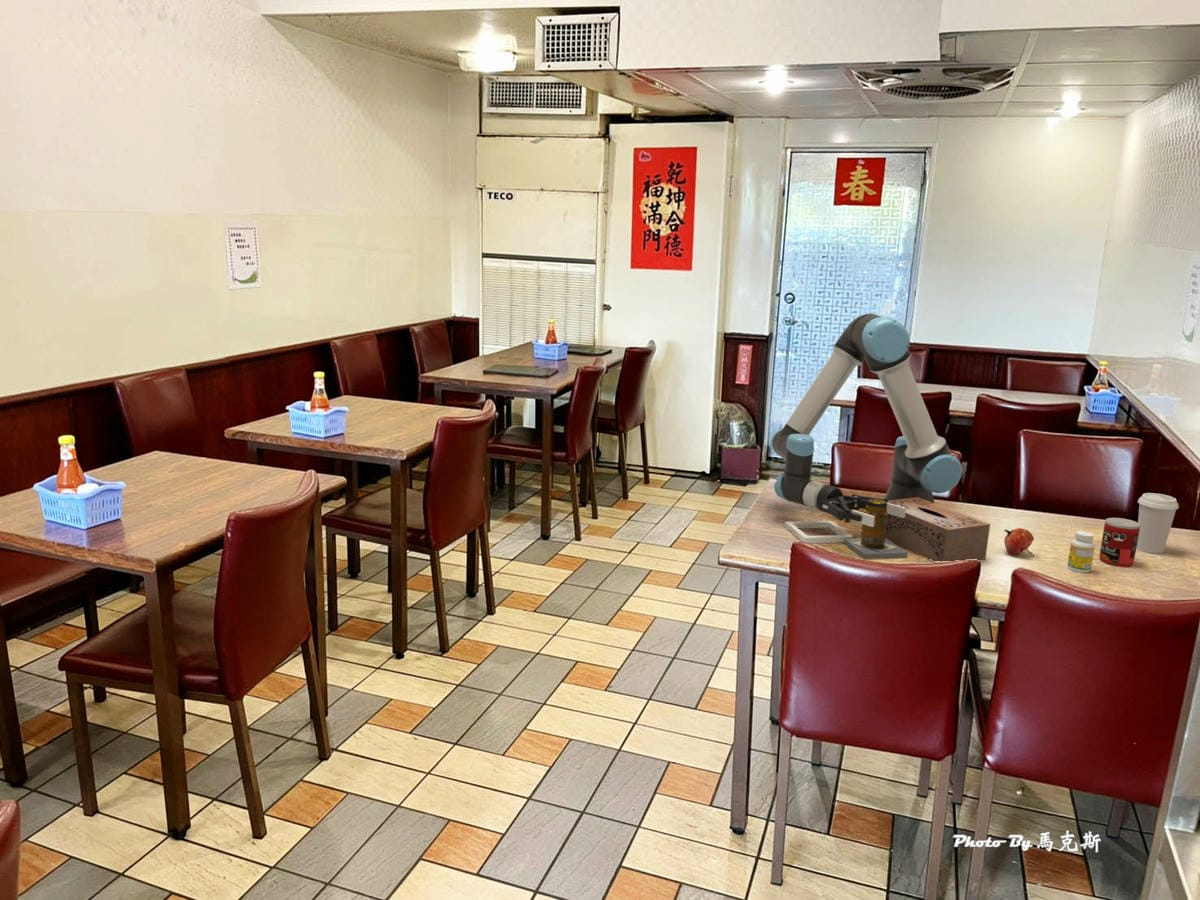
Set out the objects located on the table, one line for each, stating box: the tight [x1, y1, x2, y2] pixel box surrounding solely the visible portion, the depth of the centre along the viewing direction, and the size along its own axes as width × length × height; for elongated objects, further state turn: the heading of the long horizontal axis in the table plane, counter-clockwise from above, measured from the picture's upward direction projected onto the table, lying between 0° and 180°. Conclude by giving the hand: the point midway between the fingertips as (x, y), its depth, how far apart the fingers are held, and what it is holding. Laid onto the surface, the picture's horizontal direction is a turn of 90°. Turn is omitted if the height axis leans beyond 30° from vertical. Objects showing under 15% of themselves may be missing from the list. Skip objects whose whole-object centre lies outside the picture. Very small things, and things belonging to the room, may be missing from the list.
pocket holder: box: [784, 520, 854, 544], centre depth 251 cm, size 14×14×2 cm
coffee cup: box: [1136, 492, 1180, 555], centre depth 246 cm, size 10×10×15 cm
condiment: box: [855, 498, 895, 552], centre depth 238 cm, size 7×8×12 cm
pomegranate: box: [1003, 527, 1035, 557], centre depth 240 cm, size 7×7×10 cm
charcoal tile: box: [843, 537, 908, 560], centre depth 239 cm, size 12×12×1 cm
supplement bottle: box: [1067, 530, 1096, 574], centre depth 230 cm, size 5×5×10 cm
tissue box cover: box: [885, 497, 991, 562], centre depth 243 cm, size 26×14×10 cm, turn 25°
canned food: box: [1099, 517, 1140, 568], centre depth 236 cm, size 8×8×11 cm
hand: (889, 517), depth 235 cm, fingers open, 13 cm apart
